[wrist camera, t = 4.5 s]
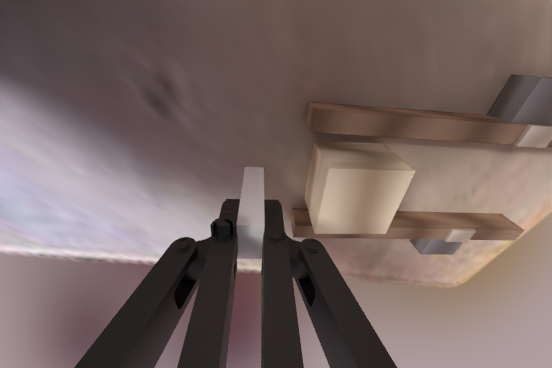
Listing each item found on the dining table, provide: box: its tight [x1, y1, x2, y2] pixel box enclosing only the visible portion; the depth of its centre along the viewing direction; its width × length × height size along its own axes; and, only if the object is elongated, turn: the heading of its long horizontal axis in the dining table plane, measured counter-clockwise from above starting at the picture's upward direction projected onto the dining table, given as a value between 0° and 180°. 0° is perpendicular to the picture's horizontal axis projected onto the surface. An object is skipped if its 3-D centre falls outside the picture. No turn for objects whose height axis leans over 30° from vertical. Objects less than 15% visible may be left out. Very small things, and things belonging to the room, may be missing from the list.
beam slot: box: [291, 75, 552, 254], centre depth 19 cm, size 24×18×3 cm
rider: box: [305, 141, 416, 234], centre depth 18 cm, size 6×6×5 cm
